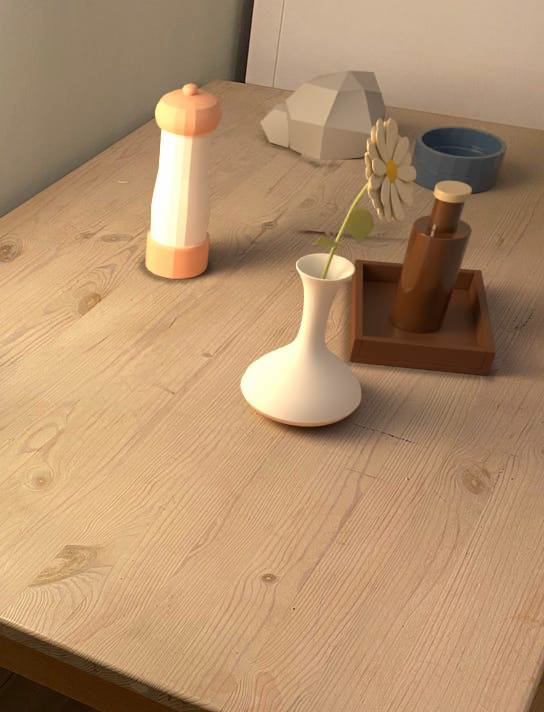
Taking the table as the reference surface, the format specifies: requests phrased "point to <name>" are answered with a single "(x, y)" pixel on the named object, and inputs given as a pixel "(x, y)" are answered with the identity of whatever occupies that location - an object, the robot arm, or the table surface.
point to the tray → (419, 350)
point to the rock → (328, 116)
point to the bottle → (432, 262)
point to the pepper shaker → (182, 184)
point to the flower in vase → (330, 303)
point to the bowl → (458, 157)
